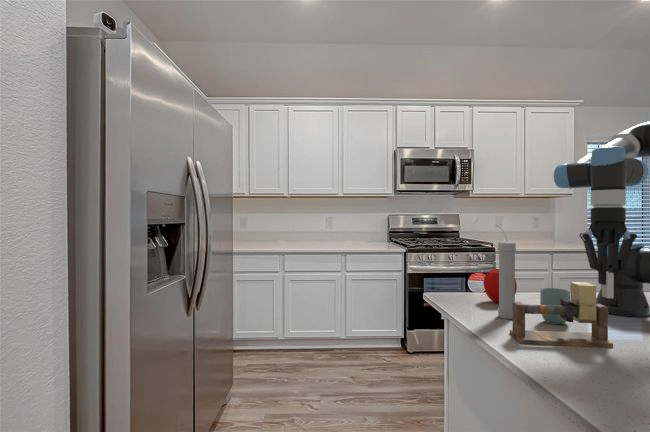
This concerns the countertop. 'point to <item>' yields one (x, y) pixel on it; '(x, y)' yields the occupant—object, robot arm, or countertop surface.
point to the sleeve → (584, 301)
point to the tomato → (493, 285)
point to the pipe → (506, 278)
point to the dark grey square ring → (569, 310)
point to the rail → (559, 338)
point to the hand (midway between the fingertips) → (607, 297)
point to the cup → (553, 302)
